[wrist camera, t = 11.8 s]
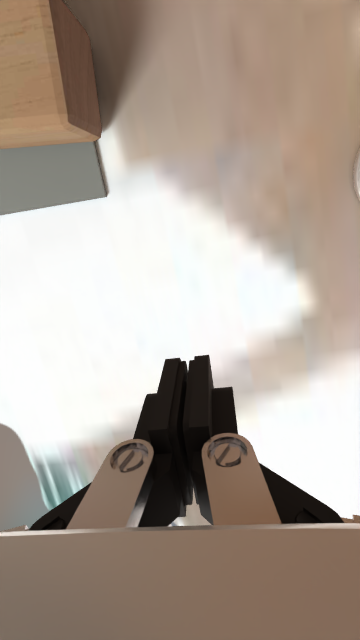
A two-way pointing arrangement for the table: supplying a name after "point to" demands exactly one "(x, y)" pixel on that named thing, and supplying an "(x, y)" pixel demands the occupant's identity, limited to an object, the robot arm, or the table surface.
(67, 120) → the wooden block
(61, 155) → the mat
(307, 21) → the table surface
